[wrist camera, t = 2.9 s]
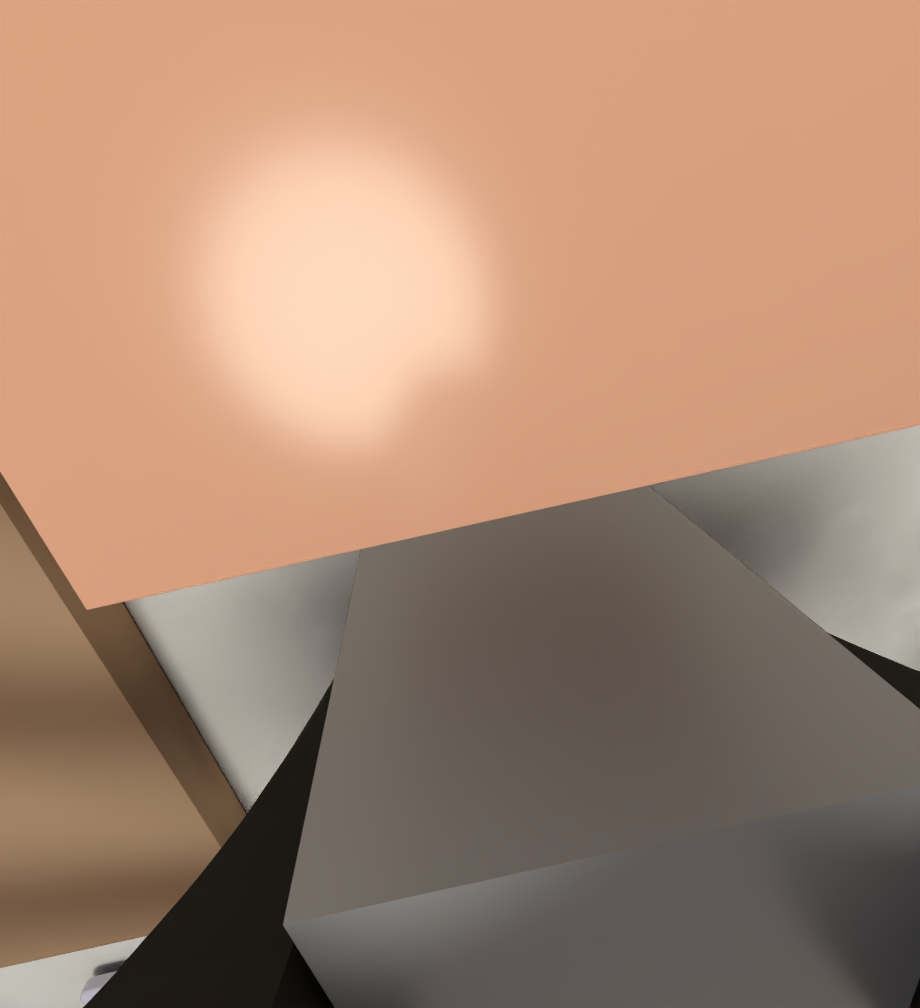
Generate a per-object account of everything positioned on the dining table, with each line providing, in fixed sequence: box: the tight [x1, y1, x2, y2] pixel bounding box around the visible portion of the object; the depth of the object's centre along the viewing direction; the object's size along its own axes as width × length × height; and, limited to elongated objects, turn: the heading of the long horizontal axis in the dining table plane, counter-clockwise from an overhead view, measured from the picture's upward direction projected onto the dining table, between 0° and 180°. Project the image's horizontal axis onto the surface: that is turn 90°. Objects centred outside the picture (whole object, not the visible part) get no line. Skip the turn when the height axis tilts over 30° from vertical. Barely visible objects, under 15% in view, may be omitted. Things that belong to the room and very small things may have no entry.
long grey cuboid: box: [283, 486, 920, 1008], centre depth 8 cm, size 5×5×7 cm
